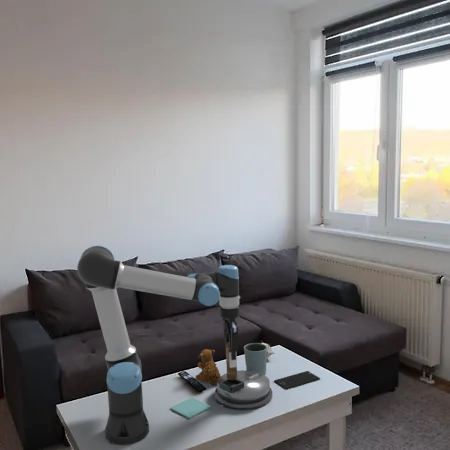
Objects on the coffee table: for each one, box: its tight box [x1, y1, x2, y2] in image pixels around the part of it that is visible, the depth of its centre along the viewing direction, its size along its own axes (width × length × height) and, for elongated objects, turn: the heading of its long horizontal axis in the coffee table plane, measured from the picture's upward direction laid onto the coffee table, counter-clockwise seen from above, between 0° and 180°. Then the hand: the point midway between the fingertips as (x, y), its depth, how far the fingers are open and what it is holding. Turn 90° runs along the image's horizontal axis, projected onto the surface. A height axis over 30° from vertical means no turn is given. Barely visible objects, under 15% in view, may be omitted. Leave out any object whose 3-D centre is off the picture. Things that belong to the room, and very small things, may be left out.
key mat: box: [169, 397, 212, 420], centre depth 190 cm, size 11×11×1 cm
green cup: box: [243, 342, 268, 376], centre depth 219 cm, size 10×10×12 cm
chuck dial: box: [216, 370, 271, 404], centre depth 199 cm, size 21×21×6 cm
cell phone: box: [274, 370, 321, 391], centre depth 212 cm, size 9×18×1 cm, turn 119°
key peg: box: [225, 341, 238, 380], centre depth 193 cm, size 4×4×14 cm
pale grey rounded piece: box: [260, 340, 275, 360], centre depth 234 cm, size 9×8×10 cm
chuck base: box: [214, 387, 273, 411], centre depth 200 cm, size 23×23×2 cm
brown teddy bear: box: [195, 348, 222, 385], centre depth 213 cm, size 10×14×13 cm
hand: (231, 364), depth 193 cm, fingers closed on key peg, 4 cm apart
